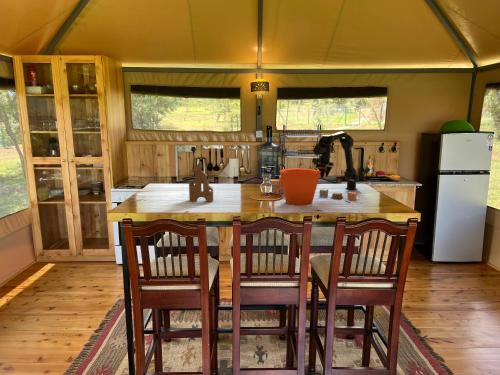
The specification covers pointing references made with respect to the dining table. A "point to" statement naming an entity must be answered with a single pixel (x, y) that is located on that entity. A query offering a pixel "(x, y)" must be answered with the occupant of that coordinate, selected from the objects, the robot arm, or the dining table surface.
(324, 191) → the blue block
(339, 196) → the walnut base
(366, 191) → the dining table surface
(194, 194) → the wooden toy
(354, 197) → the terracotta block
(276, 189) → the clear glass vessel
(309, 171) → the flowerpot
